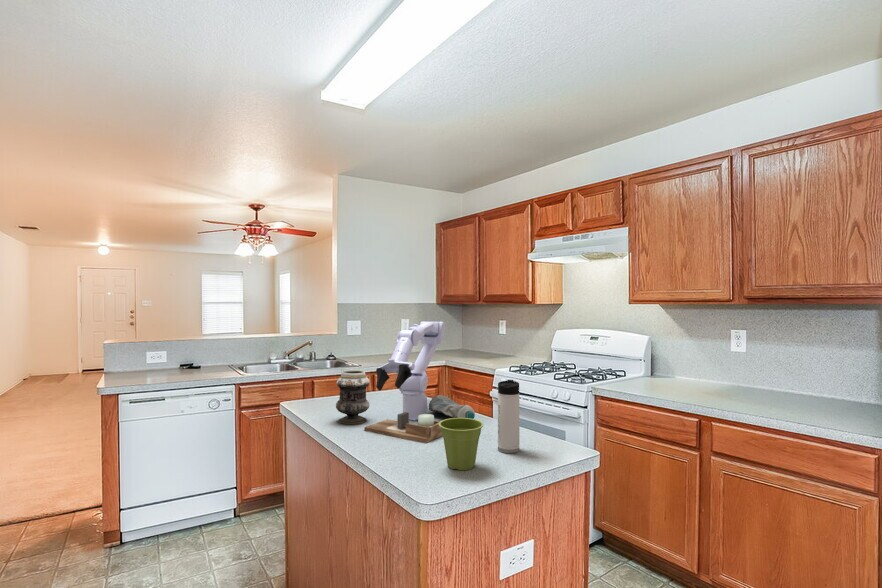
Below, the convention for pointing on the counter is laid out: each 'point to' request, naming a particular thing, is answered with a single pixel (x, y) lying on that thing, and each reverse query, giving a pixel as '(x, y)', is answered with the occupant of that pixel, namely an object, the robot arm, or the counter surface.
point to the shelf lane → (406, 430)
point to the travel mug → (508, 416)
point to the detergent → (450, 407)
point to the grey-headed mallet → (422, 420)
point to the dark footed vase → (352, 396)
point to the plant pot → (461, 441)
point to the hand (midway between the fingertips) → (387, 387)
